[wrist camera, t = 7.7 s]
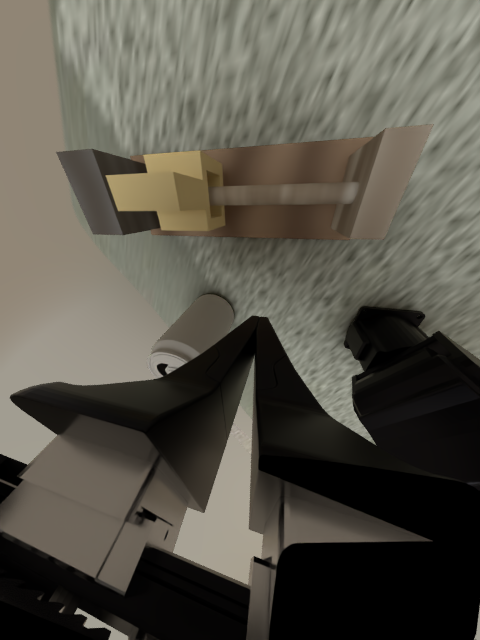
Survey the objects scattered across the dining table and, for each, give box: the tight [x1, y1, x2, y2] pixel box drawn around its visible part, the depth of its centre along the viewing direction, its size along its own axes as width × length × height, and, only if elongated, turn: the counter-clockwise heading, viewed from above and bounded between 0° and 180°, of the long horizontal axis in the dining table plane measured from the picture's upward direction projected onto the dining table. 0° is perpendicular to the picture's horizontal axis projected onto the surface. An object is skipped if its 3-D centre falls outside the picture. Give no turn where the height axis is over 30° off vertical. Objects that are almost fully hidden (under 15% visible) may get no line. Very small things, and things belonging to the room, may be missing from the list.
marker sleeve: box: [106, 150, 225, 231], centre depth 12 cm, size 4×4×8 cm
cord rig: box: [57, 124, 434, 240], centre depth 14 cm, size 22×7×8 cm, turn 91°
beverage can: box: [147, 294, 234, 379], centre depth 21 cm, size 6×6×12 cm
